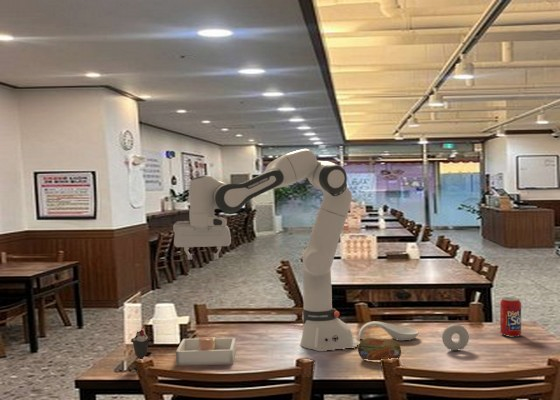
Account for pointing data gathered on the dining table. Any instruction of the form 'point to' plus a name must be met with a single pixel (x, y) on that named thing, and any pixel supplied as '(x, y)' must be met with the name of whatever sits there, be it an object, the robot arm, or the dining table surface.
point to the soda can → (510, 316)
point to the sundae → (140, 344)
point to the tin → (379, 349)
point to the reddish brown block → (206, 343)
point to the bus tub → (206, 352)
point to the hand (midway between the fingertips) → (203, 259)
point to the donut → (452, 330)
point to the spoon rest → (392, 330)
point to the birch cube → (214, 343)
